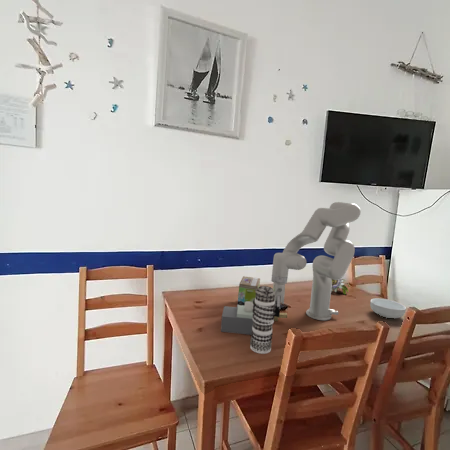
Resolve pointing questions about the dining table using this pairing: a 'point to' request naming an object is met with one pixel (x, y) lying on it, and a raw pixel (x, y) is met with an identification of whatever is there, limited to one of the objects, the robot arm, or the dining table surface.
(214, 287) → the dining table surface
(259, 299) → the decorative candle
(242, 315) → the lid
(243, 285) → the tea box
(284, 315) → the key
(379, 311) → the cereal bowl
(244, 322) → the case
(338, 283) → the passion flower
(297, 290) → the dining table surface
